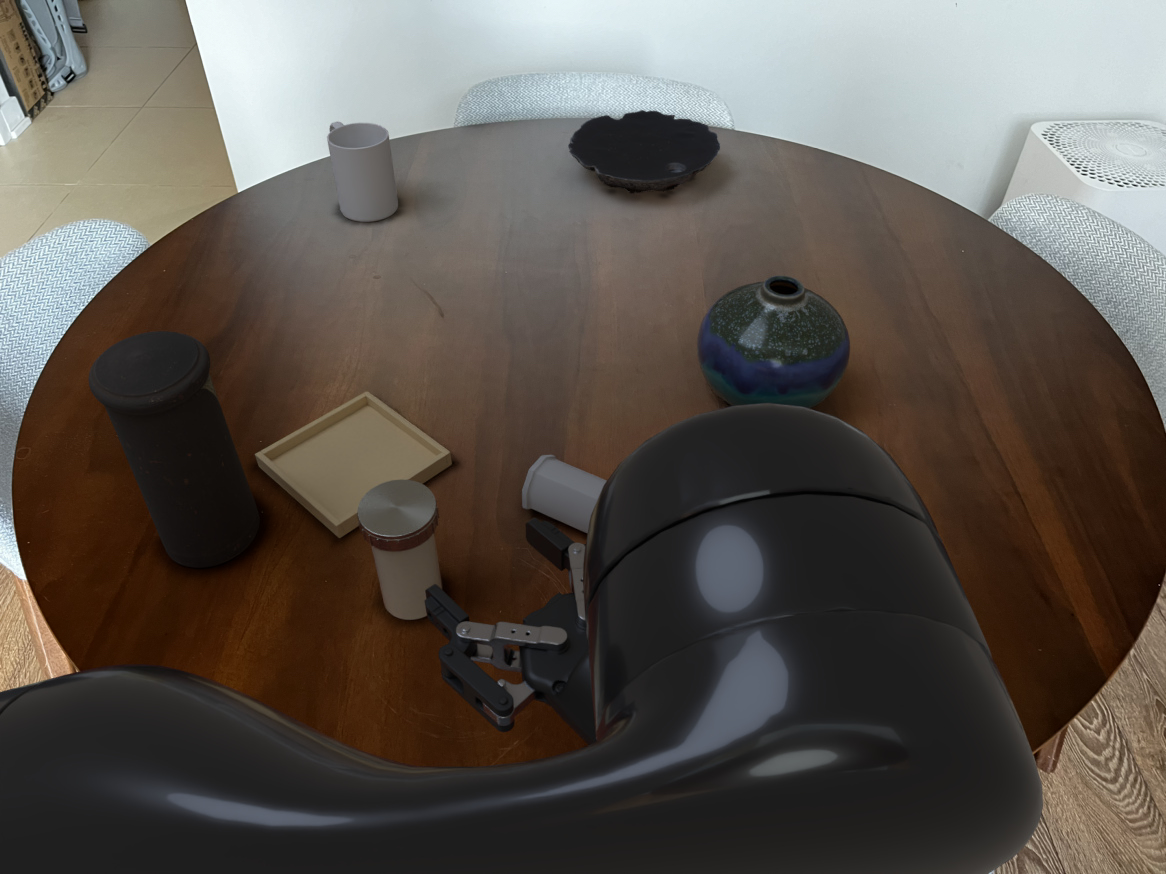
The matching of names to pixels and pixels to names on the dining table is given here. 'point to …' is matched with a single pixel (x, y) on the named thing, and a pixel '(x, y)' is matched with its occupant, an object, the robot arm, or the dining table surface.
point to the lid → (398, 515)
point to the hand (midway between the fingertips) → (481, 560)
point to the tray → (350, 459)
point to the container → (178, 445)
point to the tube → (561, 491)
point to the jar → (407, 578)
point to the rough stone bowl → (644, 150)
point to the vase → (773, 345)
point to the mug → (363, 171)
